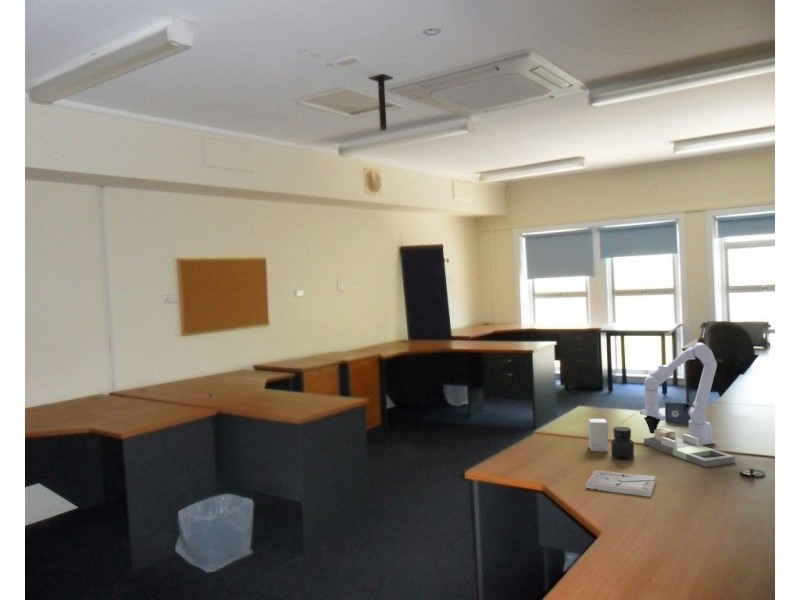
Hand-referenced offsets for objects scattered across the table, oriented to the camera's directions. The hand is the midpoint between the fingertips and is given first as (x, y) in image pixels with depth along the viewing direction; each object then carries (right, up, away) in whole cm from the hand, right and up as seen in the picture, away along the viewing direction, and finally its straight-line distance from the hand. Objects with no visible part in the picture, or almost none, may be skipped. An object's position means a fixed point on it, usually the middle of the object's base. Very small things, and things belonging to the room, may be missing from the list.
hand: (652, 433), depth 272 cm
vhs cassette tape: (+28, -2, +28) cm, 40 cm away
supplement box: (-27, -5, -9) cm, 29 cm away
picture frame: (-34, -8, -54) cm, 64 cm away
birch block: (+2, -1, -7) cm, 8 cm away
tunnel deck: (+6, -4, -20) cm, 21 cm away
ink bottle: (-22, -5, -22) cm, 31 cm away
